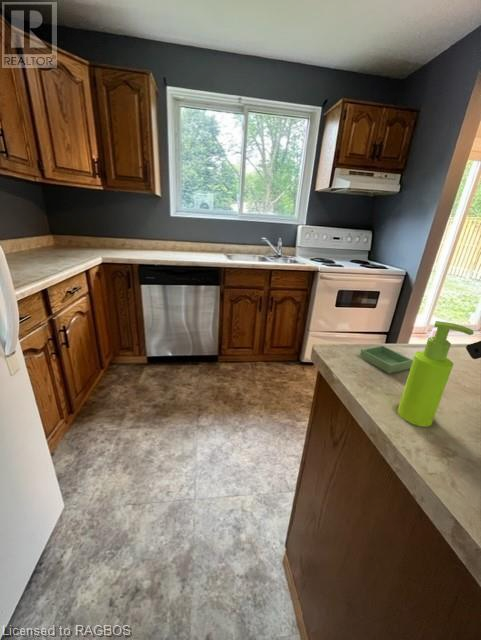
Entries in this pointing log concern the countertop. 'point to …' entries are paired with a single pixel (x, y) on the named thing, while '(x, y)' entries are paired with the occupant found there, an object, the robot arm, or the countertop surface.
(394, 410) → the countertop surface
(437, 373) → the soap dispenser
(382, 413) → the countertop surface
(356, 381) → the countertop surface
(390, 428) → the countertop surface
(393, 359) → the green tray
